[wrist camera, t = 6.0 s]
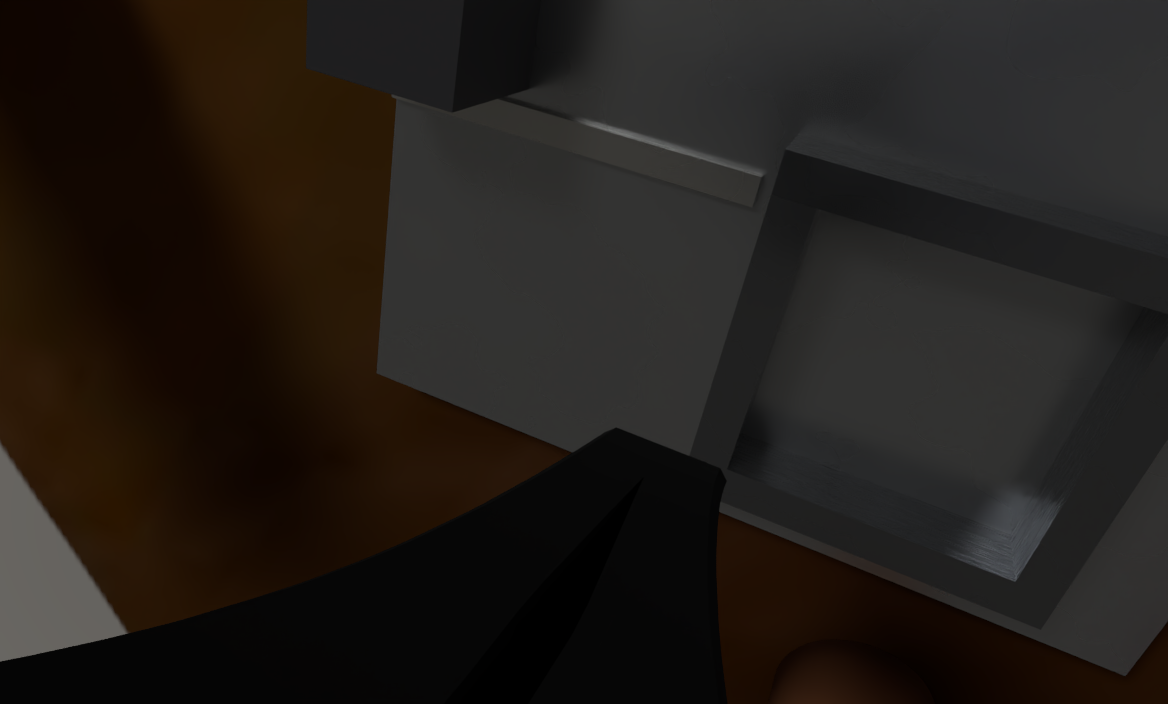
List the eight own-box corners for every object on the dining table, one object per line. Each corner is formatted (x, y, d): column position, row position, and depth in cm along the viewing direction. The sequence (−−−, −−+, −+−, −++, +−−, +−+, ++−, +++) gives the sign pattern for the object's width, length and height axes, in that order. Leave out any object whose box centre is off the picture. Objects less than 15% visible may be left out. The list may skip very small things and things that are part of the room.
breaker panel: (2153, -777, 8) (2637, -1075, 6) (1114, 635, 18) (1139, 734, 15) (505, -779, 12) (405, -946, 10) (402, 354, 22) (340, 399, 20)
